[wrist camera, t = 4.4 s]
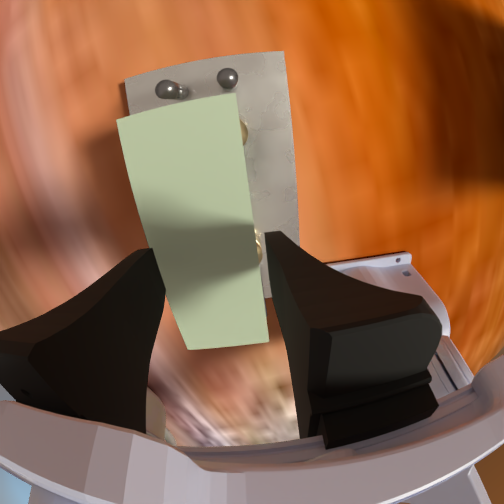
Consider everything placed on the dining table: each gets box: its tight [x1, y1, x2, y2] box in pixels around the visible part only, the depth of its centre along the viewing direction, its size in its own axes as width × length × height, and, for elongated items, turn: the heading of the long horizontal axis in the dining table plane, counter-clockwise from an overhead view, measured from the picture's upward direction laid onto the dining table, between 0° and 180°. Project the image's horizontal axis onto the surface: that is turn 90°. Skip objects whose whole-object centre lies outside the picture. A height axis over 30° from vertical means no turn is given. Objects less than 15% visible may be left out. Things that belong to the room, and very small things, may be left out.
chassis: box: [124, 51, 300, 317], centre depth 17 cm, size 10×18×5 cm, turn 7°
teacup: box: [146, 387, 177, 446], centre depth 28 cm, size 14×11×8 cm
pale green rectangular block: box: [116, 93, 269, 350], centre depth 14 cm, size 4×12×6 cm, turn 7°
